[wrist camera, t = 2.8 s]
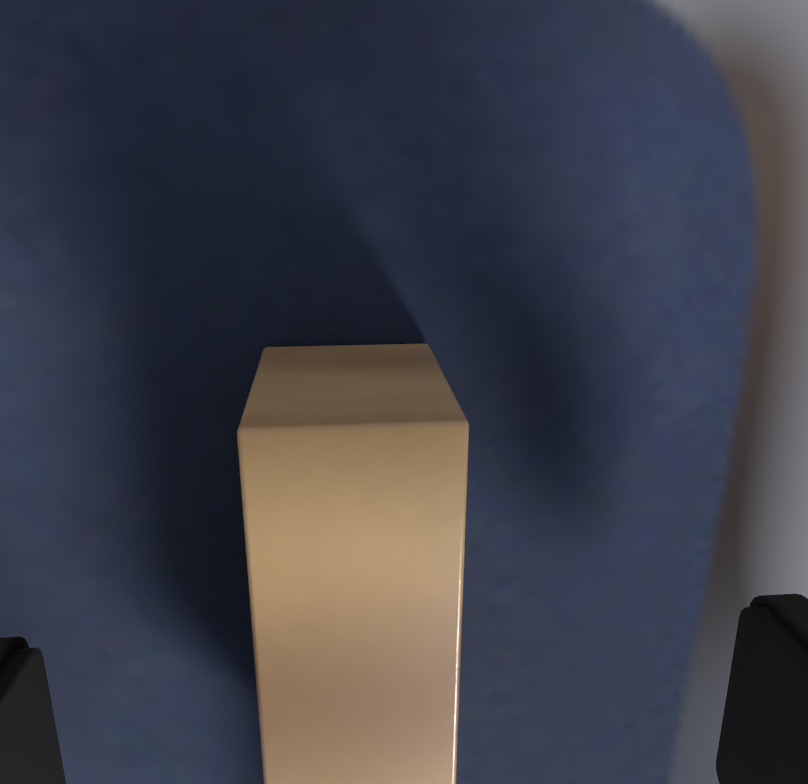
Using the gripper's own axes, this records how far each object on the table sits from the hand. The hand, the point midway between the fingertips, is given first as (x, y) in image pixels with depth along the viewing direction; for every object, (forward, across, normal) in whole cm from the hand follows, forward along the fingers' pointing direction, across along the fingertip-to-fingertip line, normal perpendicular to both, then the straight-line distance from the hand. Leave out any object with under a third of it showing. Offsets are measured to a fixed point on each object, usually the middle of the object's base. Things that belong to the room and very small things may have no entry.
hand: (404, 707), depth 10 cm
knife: (+3, +1, +3) cm, 4 cm away
